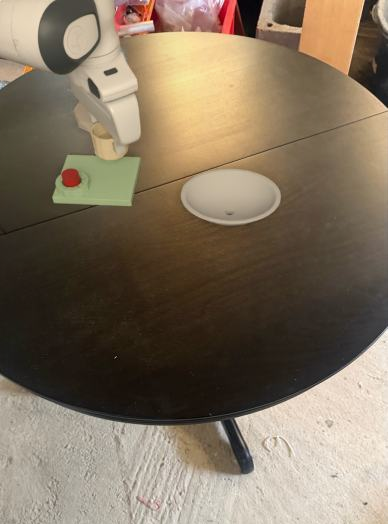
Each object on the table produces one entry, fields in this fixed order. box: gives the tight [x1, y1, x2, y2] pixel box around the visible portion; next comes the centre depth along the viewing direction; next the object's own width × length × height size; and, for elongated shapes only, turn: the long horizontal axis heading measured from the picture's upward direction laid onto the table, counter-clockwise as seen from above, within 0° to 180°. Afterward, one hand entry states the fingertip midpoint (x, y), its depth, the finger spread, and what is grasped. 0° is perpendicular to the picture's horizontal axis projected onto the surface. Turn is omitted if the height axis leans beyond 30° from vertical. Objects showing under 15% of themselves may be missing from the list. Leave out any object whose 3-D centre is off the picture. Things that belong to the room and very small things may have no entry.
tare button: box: [60, 168, 81, 187], centre depth 89 cm, size 3×3×2 cm
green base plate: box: [51, 154, 142, 207], centre depth 92 cm, size 15×13×3 cm
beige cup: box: [89, 122, 130, 160], centre depth 88 cm, size 6×6×4 cm
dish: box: [180, 168, 282, 227], centre depth 85 cm, size 18×14×5 cm
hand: (109, 141), depth 88 cm, fingers closed on beige cup, 6 cm apart
